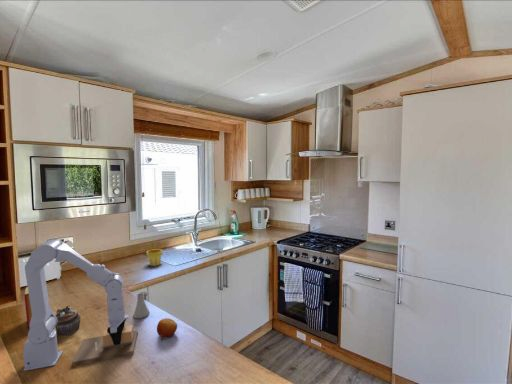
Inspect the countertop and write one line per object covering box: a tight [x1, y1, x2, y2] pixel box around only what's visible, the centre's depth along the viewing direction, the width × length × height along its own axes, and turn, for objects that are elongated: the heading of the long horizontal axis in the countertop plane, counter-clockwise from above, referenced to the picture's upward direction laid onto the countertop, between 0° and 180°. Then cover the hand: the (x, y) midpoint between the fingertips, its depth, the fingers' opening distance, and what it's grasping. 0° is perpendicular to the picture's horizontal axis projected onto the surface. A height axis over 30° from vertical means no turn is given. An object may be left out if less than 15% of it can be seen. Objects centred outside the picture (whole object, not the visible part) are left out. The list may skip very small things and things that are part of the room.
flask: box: [133, 292, 150, 319], centre depth 136 cm, size 7×7×10 cm
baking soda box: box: [23, 286, 32, 330], centre depth 131 cm, size 10×6×16 cm
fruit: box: [156, 317, 178, 342], centre depth 119 cm, size 8×8×8 cm
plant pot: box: [146, 248, 163, 267], centre depth 204 cm, size 10×10×10 cm
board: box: [71, 329, 139, 367], centre depth 111 cm, size 20×14×2 cm
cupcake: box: [54, 305, 82, 337], centre depth 124 cm, size 10×10×10 cm
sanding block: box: [102, 324, 134, 349], centre depth 112 cm, size 10×4×5 cm, turn 106°
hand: (118, 340), depth 112 cm, fingers closed on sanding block, 4 cm apart
